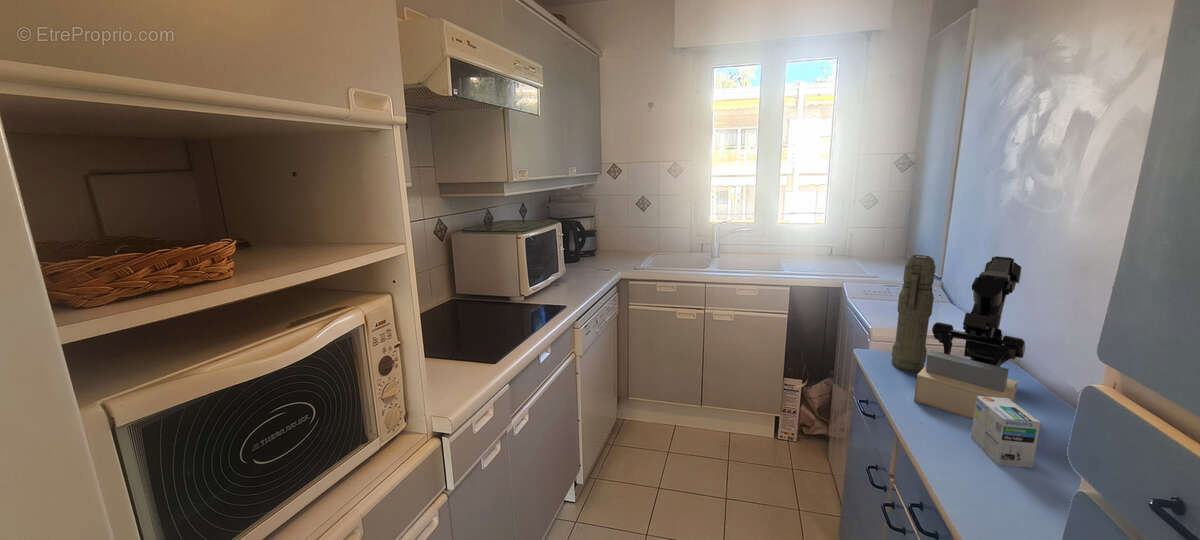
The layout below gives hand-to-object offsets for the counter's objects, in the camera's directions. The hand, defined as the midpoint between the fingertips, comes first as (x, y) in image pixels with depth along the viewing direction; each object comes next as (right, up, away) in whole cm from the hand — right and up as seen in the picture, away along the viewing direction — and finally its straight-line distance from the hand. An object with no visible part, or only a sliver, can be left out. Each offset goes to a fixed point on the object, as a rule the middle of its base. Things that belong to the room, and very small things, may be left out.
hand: (967, 367), depth 120 cm
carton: (+1, -10, +3) cm, 11 cm away
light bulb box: (-6, -15, -17) cm, 24 cm away
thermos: (+3, -5, +27) cm, 28 cm away
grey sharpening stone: (-2, -4, -1) cm, 4 cm away
